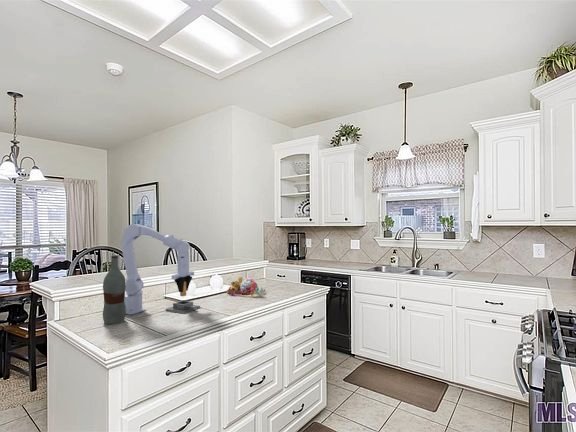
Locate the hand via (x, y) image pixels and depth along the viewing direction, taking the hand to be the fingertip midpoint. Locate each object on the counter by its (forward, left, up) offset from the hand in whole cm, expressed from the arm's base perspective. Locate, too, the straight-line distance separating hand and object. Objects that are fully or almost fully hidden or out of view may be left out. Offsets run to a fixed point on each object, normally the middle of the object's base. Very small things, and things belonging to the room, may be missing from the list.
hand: (183, 291), depth 170 cm
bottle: (-29, +14, -10) cm, 34 cm away
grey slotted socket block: (0, 0, -9) cm, 9 cm away
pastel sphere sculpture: (+47, -9, -10) cm, 49 cm away
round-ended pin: (0, 0, -2) cm, 2 cm away
